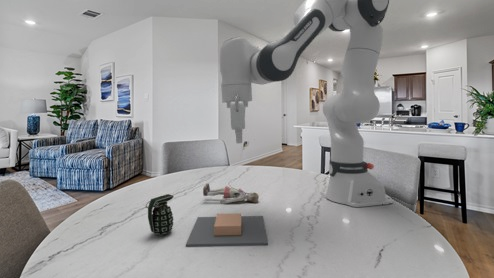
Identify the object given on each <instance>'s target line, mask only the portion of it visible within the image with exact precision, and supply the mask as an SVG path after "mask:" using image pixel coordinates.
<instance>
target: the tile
mask: <svg viewBox="0 0 494 278" xmlns="http://www.w3.org/2000/svg"><path fill="white" fill-rule="evenodd" d="M241 216H242V213H241V212H240V213H237V212H235V213H217V214H216V216H215V217H216V220H215V224H214V236H218V235H241V224H242V218H241Z"/></svg>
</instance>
